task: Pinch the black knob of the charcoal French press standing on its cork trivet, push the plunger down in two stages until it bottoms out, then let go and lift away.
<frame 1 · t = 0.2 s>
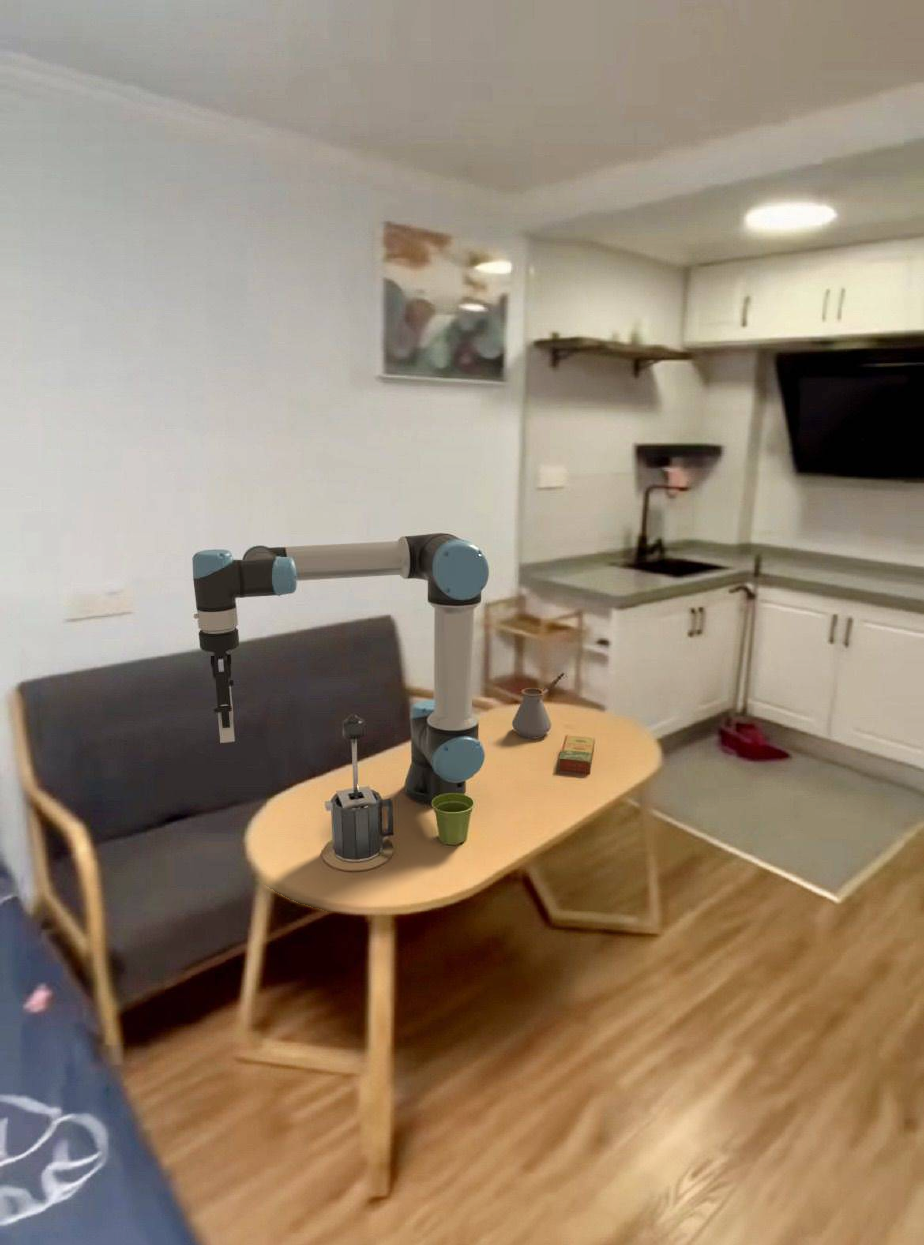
hand: (227, 728, 162), 28 cm above the table, fingers open, 13 cm apart
plunger: (354, 763, 164), point 21 cm above the table, slide at 7.0 cm
carton: (576, 762, 214), on the table
press: (358, 852, 169), on the table
plant pot: (453, 838, 175), on the table
coffee pot: (541, 728, 235), on the table
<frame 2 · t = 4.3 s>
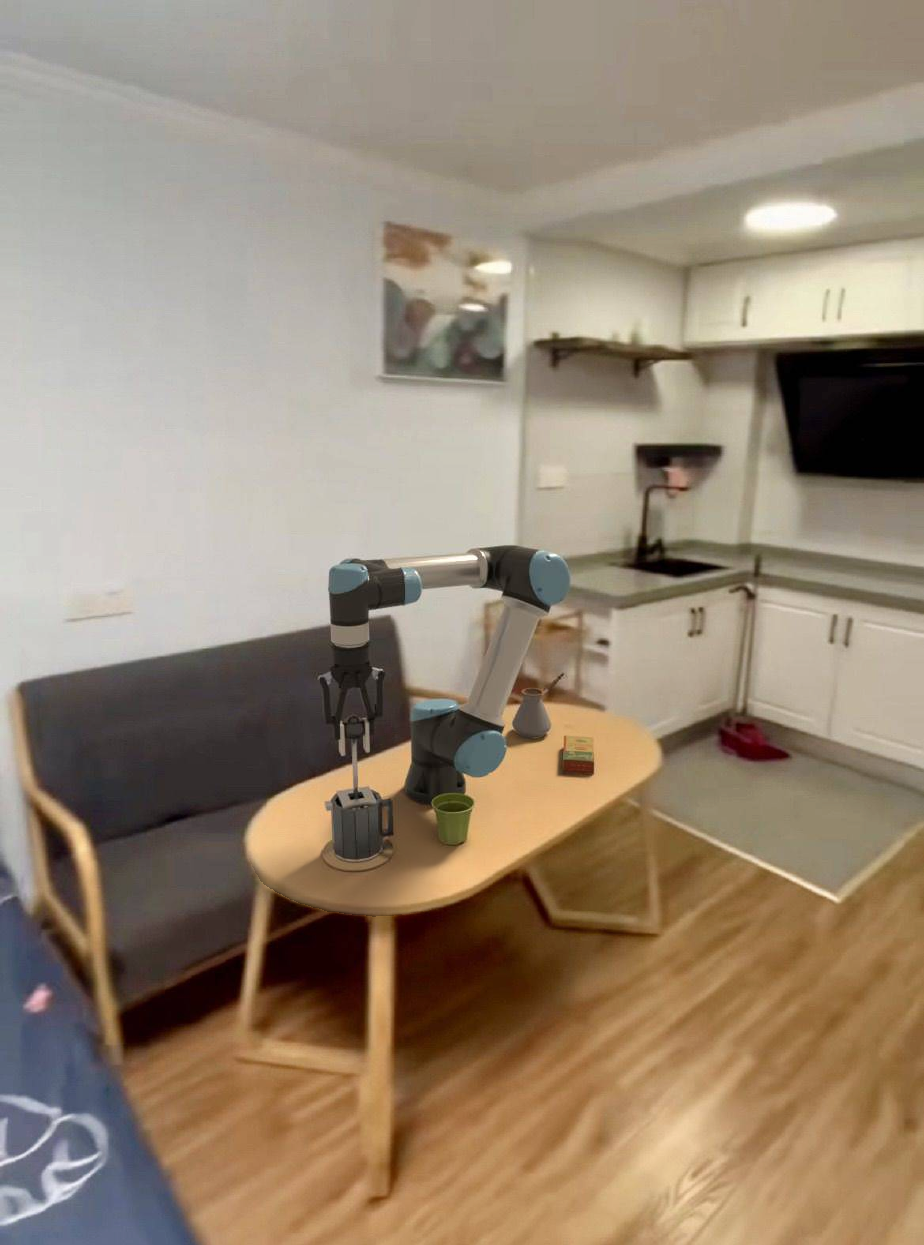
hand: (354, 751, 163), 23 cm above the table, fingers closed on plunger, 4 cm apart
plunger: (354, 763, 164), point 21 cm above the table, slide at 7.0 cm, touching gripper
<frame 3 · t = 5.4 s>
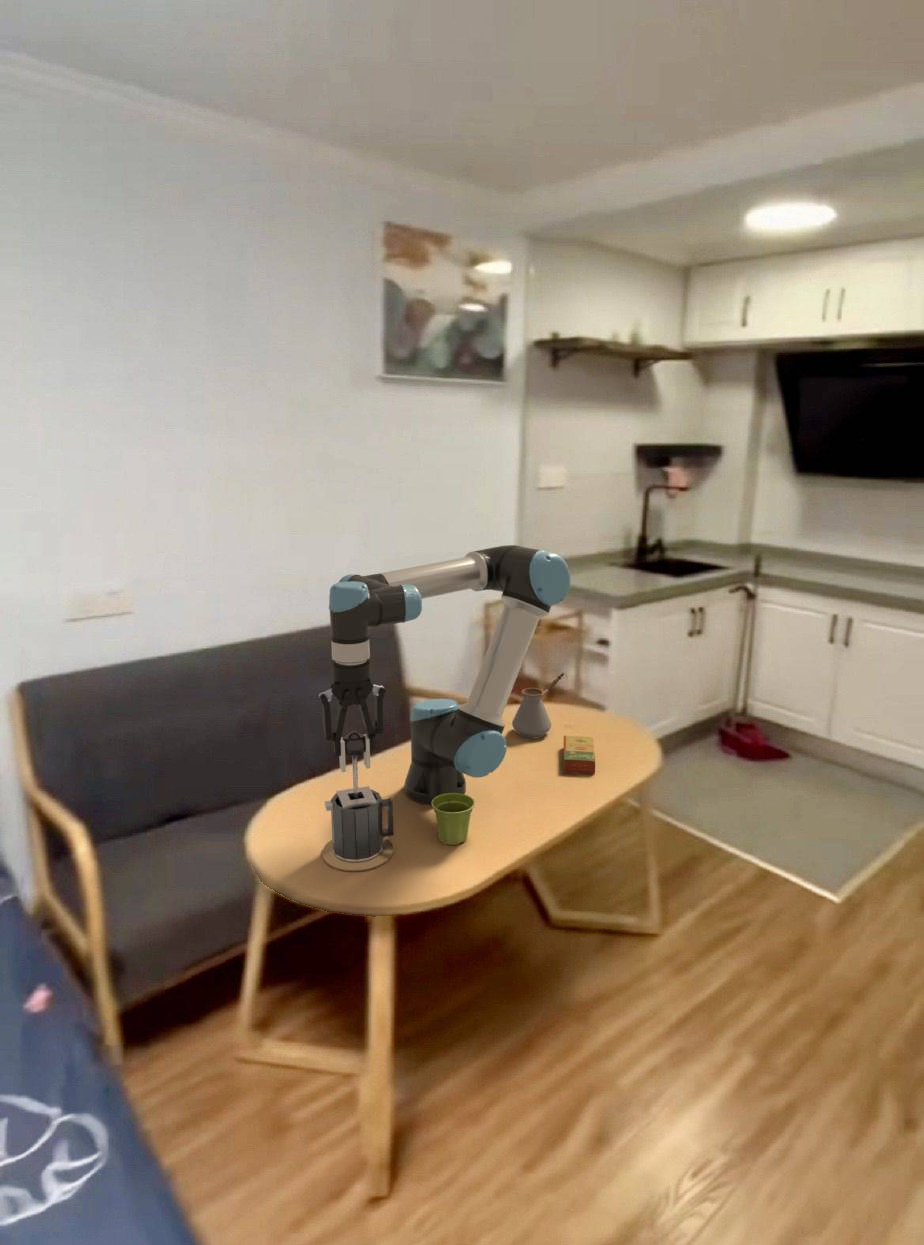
hand: (355, 767, 164), 20 cm above the table, fingers closed on plunger, 4 cm apart
plunger: (355, 779, 165), point 17 cm above the table, slide at 3.4 cm, touching gripper
everything else where it was.
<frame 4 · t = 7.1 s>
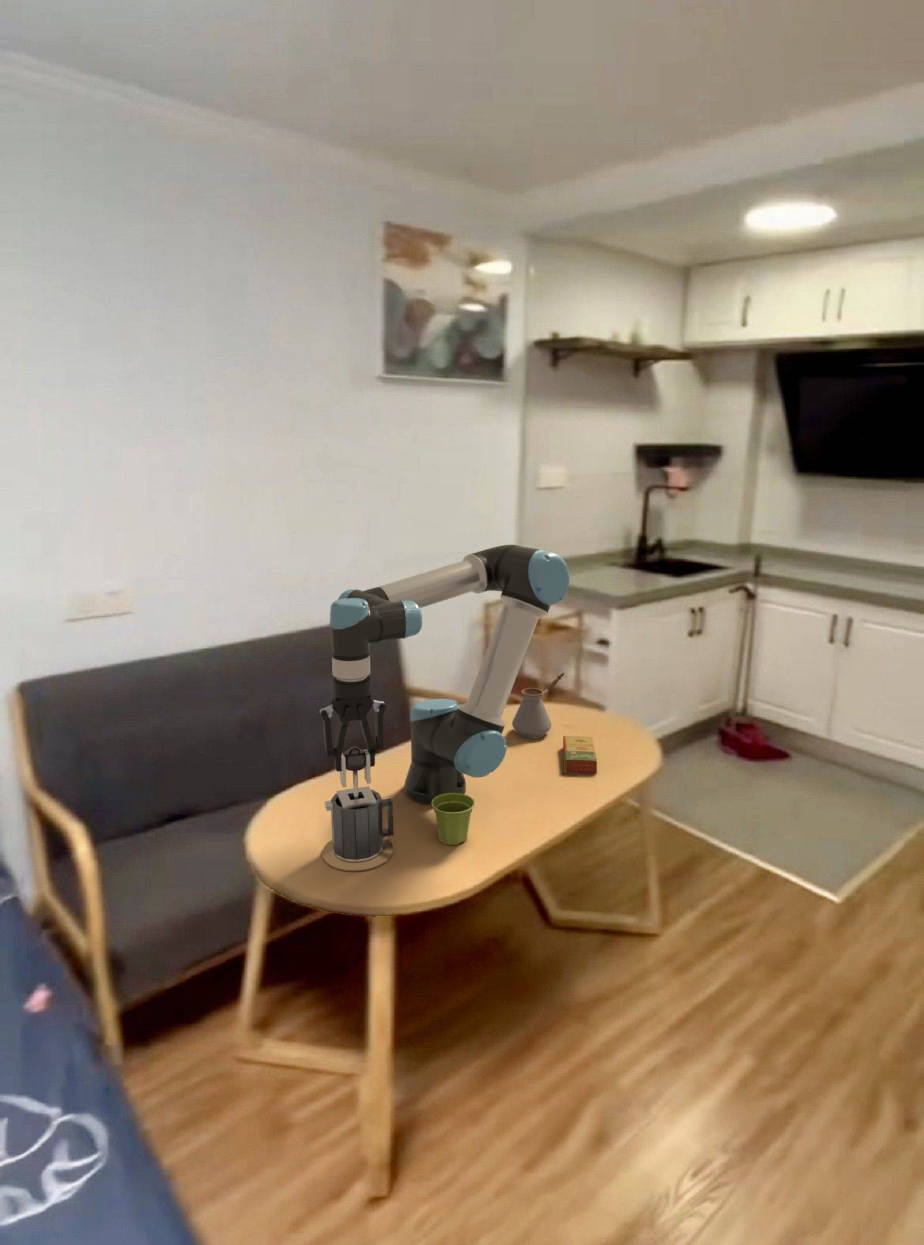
hand: (355, 782, 165), 16 cm above the table, fingers closed on plunger, 4 cm apart
plunger: (356, 794, 165), point 14 cm above the table, slide at 0.0 cm, touching gripper
everything else where it was.
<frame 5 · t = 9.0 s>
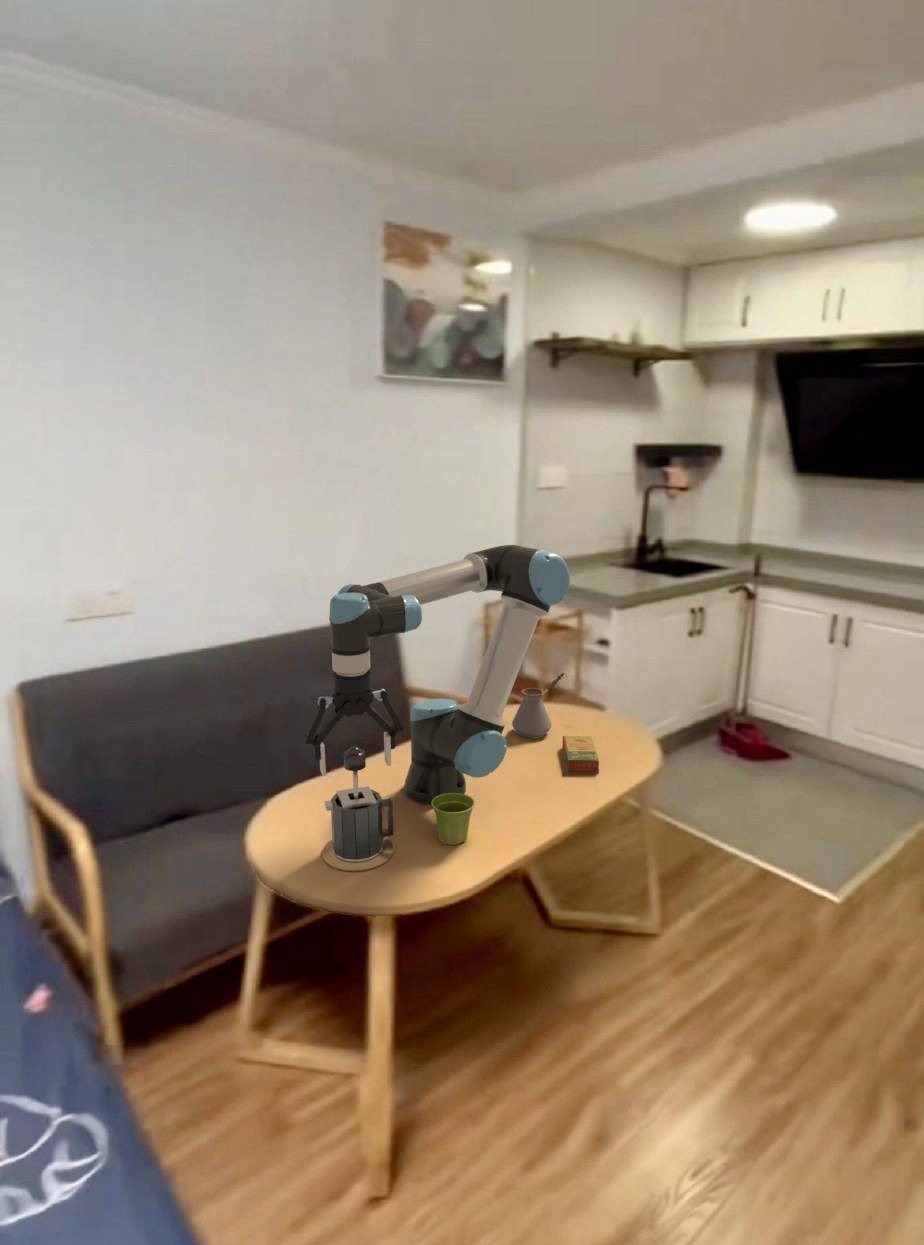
hand: (356, 768, 164), 19 cm above the table, fingers open, 13 cm apart
plunger: (356, 794, 165), point 14 cm above the table, slide at 0.0 cm
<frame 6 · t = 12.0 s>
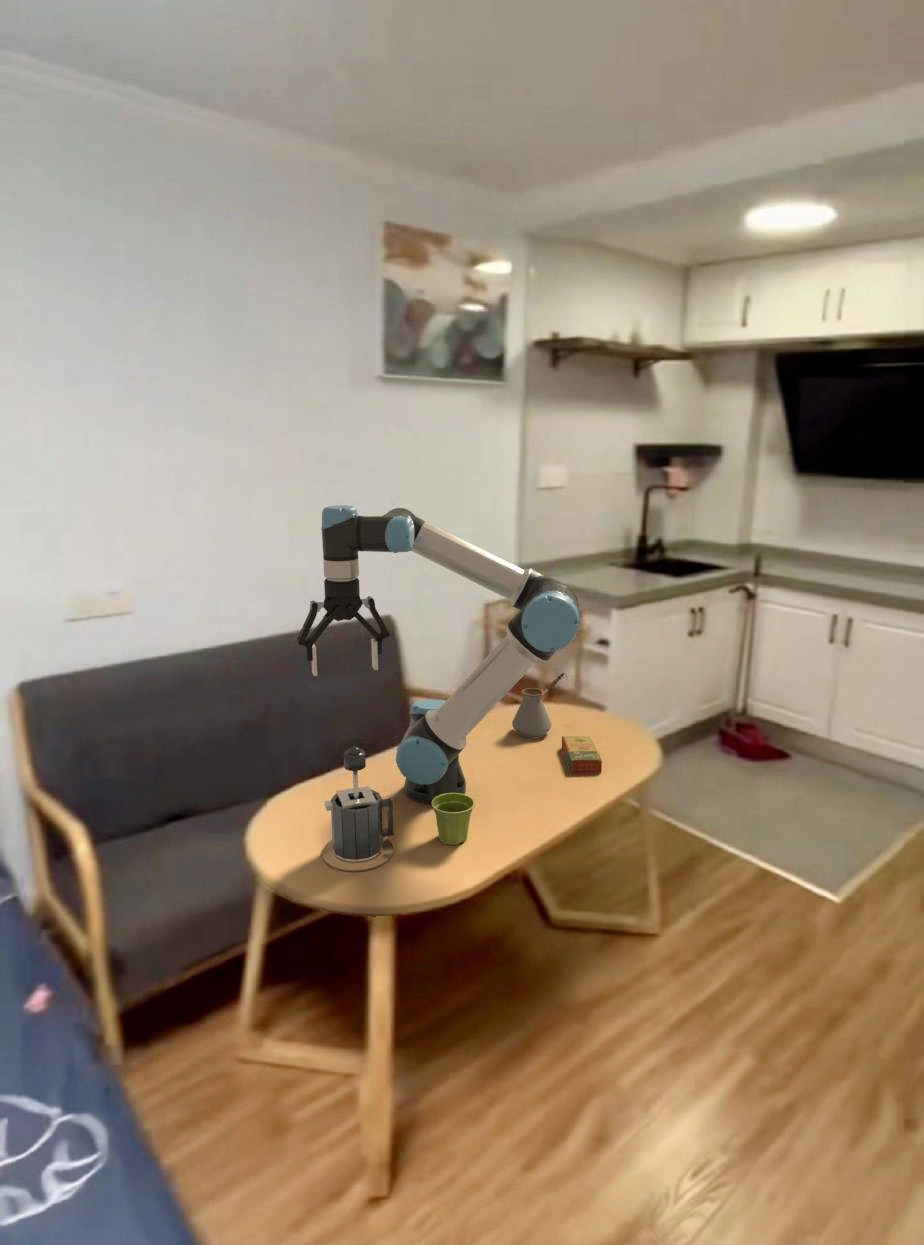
hand: (345, 671, 177), 35 cm above the table, fingers open, 13 cm apart
at the end: plunger slide at 0.0 cm; the gripper is holding nothing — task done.
